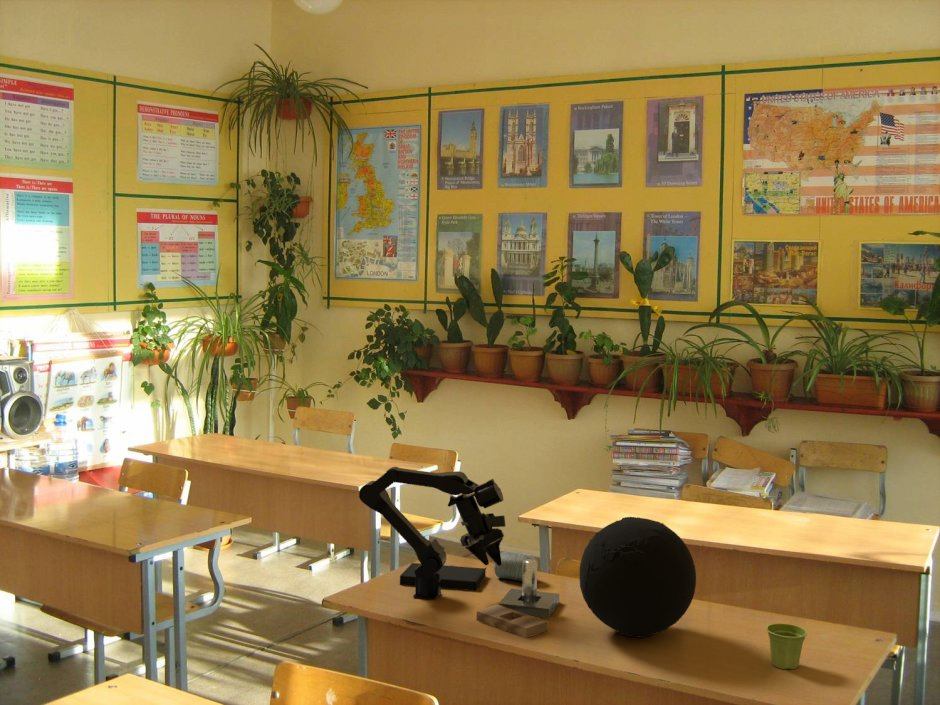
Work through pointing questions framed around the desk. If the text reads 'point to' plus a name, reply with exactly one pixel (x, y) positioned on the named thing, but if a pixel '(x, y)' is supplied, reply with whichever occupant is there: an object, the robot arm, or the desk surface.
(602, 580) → the sphere
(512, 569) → the spool
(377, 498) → the robot arm
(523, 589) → the steel axle
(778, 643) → the plant pot
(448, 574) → the external hard drive
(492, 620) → the wooden block with hole
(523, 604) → the block
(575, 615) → the desk surface
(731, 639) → the desk surface
